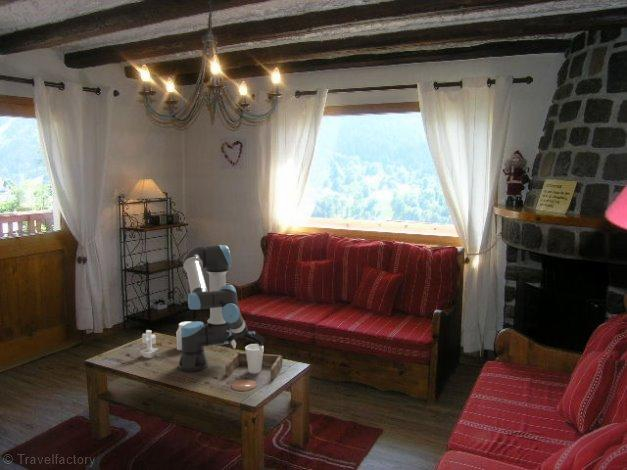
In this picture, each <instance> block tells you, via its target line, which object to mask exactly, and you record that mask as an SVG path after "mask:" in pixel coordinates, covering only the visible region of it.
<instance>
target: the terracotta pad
mask: <svg viewBox="0 0 627 470" xmlns="http://www.w3.org/2000/svg"><path fill="white" fill-rule="evenodd" d="M256 387H257V382H256V381H255V380H253V379H249V378H248V379H247V378H244V379H237V380H235V381H233V382H232V383H231V389H233V391H234V390H235V391H238V392H239V391H240V392H249V391H251V390H253V389H255V388H256Z"/></svg>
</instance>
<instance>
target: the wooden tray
mask: <svg viewBox="0 0 627 470" xmlns="http://www.w3.org/2000/svg"><path fill="white" fill-rule="evenodd" d="M239 365H244V366H245V365H247V366H248V363H247V357H246V352H242V351H240V352H236V353H235V354H234V355H233V356H232V357H231V358H230V360H229V361H228V362H227V363H226V364H225V376H226V377H230V376H231V375H232V374H233V372H234V371H235V370H236V369H237V367H238V366H239ZM262 367H270V380H271V381H275V379H276V378H277V375H278V374H279V372H280V370H281V369H282V368H283V355H280V354H270V353H269V354H267V353H266V354H265V353H263V358H262Z"/></svg>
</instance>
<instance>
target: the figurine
mask: <svg viewBox="0 0 627 470" xmlns="http://www.w3.org/2000/svg"><path fill="white" fill-rule="evenodd" d="M152 332H153V331H152V330H150V329H146V330H145V333H142V335H141V339H142V340H141V341H142V344H146V348H144V349H142V350H140V354H141V355H142V357H143V358H145V359H146V358H147V359H151V358H154V357H156V356H157V353H158V352H159V350H160V348H157V347H153V344H154V345H155V344H156V343H157V340H156V335H155V334H152Z"/></svg>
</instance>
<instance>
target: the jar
mask: <svg viewBox="0 0 627 470" xmlns="http://www.w3.org/2000/svg"><path fill="white" fill-rule="evenodd" d="M191 322H192V321H181V322H180V323H178V328H177V330H176V332H175V334H176V351H177V350H178V351H182V343H181V329H182V327H183V326H184V325H185V324H188V323H191Z"/></svg>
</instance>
